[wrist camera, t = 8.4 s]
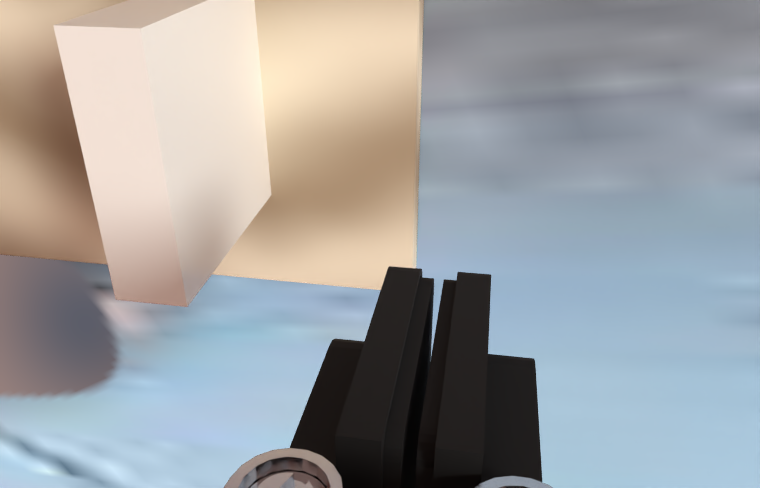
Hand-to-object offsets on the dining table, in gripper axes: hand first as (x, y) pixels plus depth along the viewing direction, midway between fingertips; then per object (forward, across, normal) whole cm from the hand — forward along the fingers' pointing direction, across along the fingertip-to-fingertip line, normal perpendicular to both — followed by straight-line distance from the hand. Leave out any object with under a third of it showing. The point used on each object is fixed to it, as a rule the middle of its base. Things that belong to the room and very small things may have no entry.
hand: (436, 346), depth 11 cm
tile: (+12, +8, -1) cm, 14 cm away
